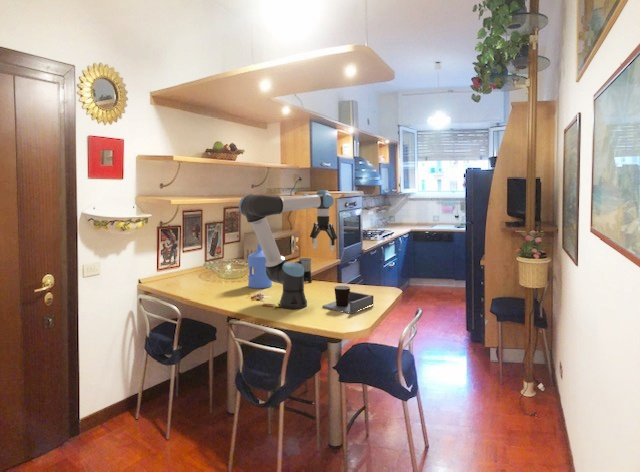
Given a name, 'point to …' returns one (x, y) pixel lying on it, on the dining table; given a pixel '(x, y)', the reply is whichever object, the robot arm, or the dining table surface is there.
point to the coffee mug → (342, 295)
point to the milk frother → (306, 268)
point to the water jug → (258, 270)
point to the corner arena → (353, 303)
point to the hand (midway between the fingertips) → (323, 249)
